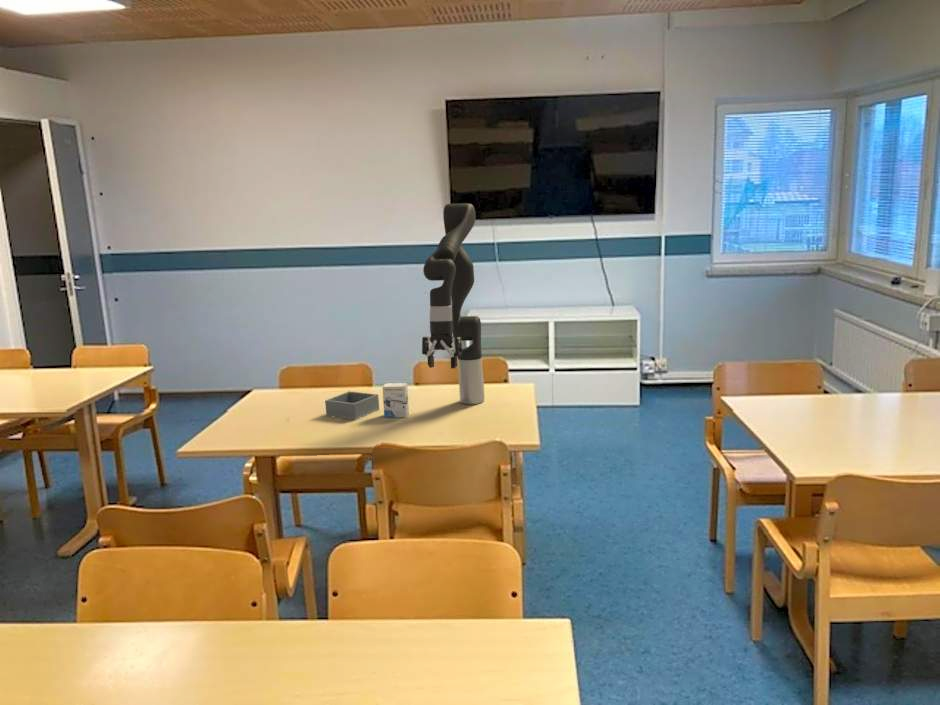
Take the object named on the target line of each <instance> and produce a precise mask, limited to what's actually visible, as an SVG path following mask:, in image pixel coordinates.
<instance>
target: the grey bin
mask: <svg viewBox="0 0 940 705" xmlns="http://www.w3.org/2000/svg"><path fill="white" fill-rule="evenodd" d="M324 401H325V402H324V403H325V415H326V417H329V416H334V417H333V418H337V417H341V418H340V419H344V418H349V419H348V420H352V419H357V420H360V419H361V418H360V417H362V418H364V417H366V416H368V415H367V414H369V415H371V414H373V413H375V412H377V410H378V411H379V410H380V400H379V394H378V393H369V392H368V393H367V392H358V391H350V390H349V391H347V392H344V393H342V394H339V395H337V396H333V397H332V398H328V399H325V400H324ZM374 411H375V412H374ZM372 412H373V413H372ZM370 413H371V414H370ZM365 415H366V416H365ZM363 416H364V417H363ZM359 418H360V419H359Z"/></svg>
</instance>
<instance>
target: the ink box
mask: <svg viewBox="0 0 940 705" xmlns="http://www.w3.org/2000/svg"><path fill="white" fill-rule="evenodd" d="M408 389H409V388H408V383H406V382H393V383H391V382H389V383H388V382H387V383H384V384H383V385H382V398H383V400H382V401H383V415H384V418H407V417H409V415H410V412H409V411H410V408H409V406H410V405H409V390H408Z"/></svg>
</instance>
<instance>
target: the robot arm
mask: <svg viewBox="0 0 940 705" xmlns="http://www.w3.org/2000/svg"><path fill="white" fill-rule="evenodd" d="M476 215H477V214H476V209H475V206H474V205H473V204H472V203H470V202H469V203H467V202H465V203H464V202H462V203H447V204H446V205H444V207H443V218H442V219H443V225H444V233H445V235H444V236H443V237H442V238H441V239H440V241H439V242H438V245H437V248H436V250H435V251H433V253H432V254H430V256H429V257H428V258H427V260H426V261H425V262H424V266H423V270H422V273H423V275H424V277H425V279H427V280H428V281H431V282H432V281H433V282H434V281H443V282H442V285H440V286H438V287H433V288H432V289H430V291H429V306H430V307H429V308H430V309H429V333H430V336H429V335H428V336H427V335H426V336H423V337H421V338H422V342H421V343H422V344H421V346H422V347H421V354H422V355H425V356H426V357H427V366H428V367H429V368H430V369H431V368H434V367H435V356H434V355H435V353H436V352H437V351H439V350H441V351H446V352H447V353H448V354H449V356H450V368H451V369H452V370H453V369H456V368H457V367H458V368H457V370H458V371H457V372H458V387H459V402H460V403H461V404H464V405H477V404H481V403H483V402H484V401H485V385H484V383H485V382H484V378H485V377H484V373H483V354H482V352H483V351H482V321H481V319H480V317H479V316H478V315H469V316H468V315H467V316H466V315H465V316H464V315H463V316H462V315H461V312H462V311H461V310H462V307H463V306H464V305H463V304H464V303H465V301H466V299H467V297H468V295H469V293H470V292H471V290H472V288H473V286H474V283H475V272H474V271H475V270H474V263H473V261H472V259H471V258H470V256H469V254H468V253H467V251H466V250H465V249H464V248H463V247H462V243H463V242H464V241H465V239H466V238H467V237H468V236H469V234H470V233H471V231H472V229H473V227H474V225H475V223H476V217H477V216H476ZM462 341H464V342H465V341H469V342H470V341H471V342H472V343H471V344H470V345H468V346H467V347H464V348H463V345H462V344H463V343H462ZM430 343H431V346H430ZM453 344H454V345H453Z"/></svg>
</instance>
